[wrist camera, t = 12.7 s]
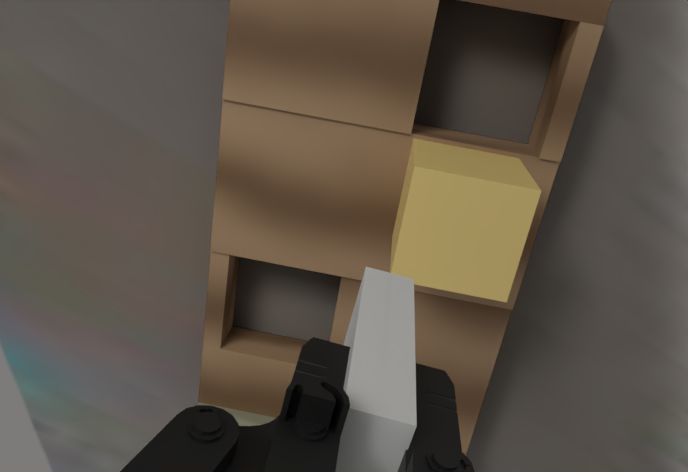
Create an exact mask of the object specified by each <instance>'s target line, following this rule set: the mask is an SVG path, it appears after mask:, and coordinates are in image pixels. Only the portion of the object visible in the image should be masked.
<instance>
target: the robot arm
mask: <svg viewBox="0 0 688 472" xmlns="http://www.w3.org/2000/svg"><path fill="white" fill-rule="evenodd" d="M455 400H456V396H455V388H454V384H453V382H452V381H451V379H450V378H449V376H448V375H447V373H446V372H445V371H444V370H440V369H436V368H433V367H429V366H425V365H421V364H418V363H416V361H415V308H414V279H411V278H408V277H404V276H400V275H396V274H393V273H389V272H385V271H381V270H377V269H374V268H370V267H366V268H365V271H364V275H363V278H362V282H361V285H360V289H359V292H358V296H357V299H356V303H355V306H354V310H353V313H352V317H351V320H350V323H349V327H348V330H347V334H346V337H345V341H344V345H341V344H337V343H333V342H329V341H326V340H322V339H318V338H314V337H313V338H312V339H310V340H309V341H308V342H307V343H305V344H304V345H303V346H302V348H301V352H300V355H299V358H298V362H297V365H296V368H295V372H294V375H293V378H292V381H291V383H290V384H289V386H288V387H287V389H286V393H285V397H284V401H283V405H282V409H281V413H280V415H279V416H278V417H277V418H276V419H274V420H272V421H271V422H269V423H266V424H262V425H256V426H239V424H238V422H237V421H236V419H235V418H234V416H233V415H232V414H230V413H229V412H227V411H226V410H224V409H221V408H218V407H215V406H211V405H198V406H194V407H190V408H186V409H185V410H183V411H182V412H180V413H179V414H177V415H176V416H175V417H174V418H173V419H172V420H171V421H170V422H169V423H168V424H167V425H166V426H165V427H164V428H163V429H162V430H161V431H160V432H159V433H158V434H157V435H156V436H155V437H154V438H153V439H152V440H151V441H150V442H149V443H148V444H147V445H146V446H145V447H144V448H143V449H142V450H141V451H140V452H139V453H138V454H137V455H136V456H135V457H134V458H133V459H132V460H131V461H130V462H129V463H128V464H127V465H126V466H125V467H124V468H123V469H122V470H121V471H120V472H475V471H474V469H473V466H472V463H471V462H470V460H469V459H468V458H467V457H466V456H465V454H464V453H462V448H461V439H460V430H459V422H458V413H457V405H456V401H455Z"/></svg>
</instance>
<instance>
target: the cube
mask: <svg viewBox="0 0 688 472" xmlns="http://www.w3.org/2000/svg"><path fill="white" fill-rule="evenodd" d="M540 194H541V189H540V188H539V186H538V185H537V183H536V182H535V180H534V179H533V178H532V176H531V175H530V173H529V172H528V170H527V169H526V167H525V166H524V165H523V163H522V162H521V160H520V159H519V158H515V157H509V156H504V155H499V154H494V153H488V152H483V151H478V150H472V149H467V148H462V147H456V146H451V145H446V144H441V143H435V142H430V141H425V140H419V139H414V138H413V142H412V147H411V152H410V156H409V161H408V166H407V170H406V175H405V180H404V184H403V189H402V193H401V198H400V203H399V207H398V212H397V217H396V221H395V226H394V230H393V235H392V249H391V264H390V273H393V274H396V275H400V276H404V277H408V278H411V279H414V284H415V285H420V286H425V287H430V288H435V289H441V290H446V291H451V292H456V293H461V294H466V295H471V296H476V297H481V298H486V299H492V300H497V301H502V302H507V300H508V296H509V293H510V290H511V287H512V284H513V280H514V277H515V274H516V271H517V268H518V264H519V261H520V258H521V255H522V252H523V248H524V245H525V242H526V239H527V236H528V233H529V229H530V226H531V223H532V220H533V217H534V213H535V210H536V207H537V204H538V201H539V197H540Z"/></svg>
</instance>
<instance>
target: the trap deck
mask: <svg viewBox="0 0 688 472" xmlns="http://www.w3.org/2000/svg"><path fill="white" fill-rule="evenodd" d="M458 1H463V2H469V3H474V4H480V5H486V6H491V7H497V8H502V9H508V10H514V11H519V12H525V13H530V14H536V15H541V16H547V17H553V18H558V19H564V22H563V26H562V29H561V33H560V36H559V39H558V43H557V46H556V50H555V53H554V56H553V60H552V63H551V67H550V70H549V74H548V77H547V80H546V84H545V87H544V91H543V94H542V98H541V101H540V104H539V108H538V111H537V115H536V118H535V122H534V125H533V128H532V132H531V135H530V139H529V142H528V144H524V143H518V142H513V141H507V140H502V139H497V138H491V137H486V136H480V135H475V134H470V133H464V132H459V131H454V130H448V129H443V128H437V127H432V126H427V125H421V124H416V123H414V118H415V113H416V109H417V104H418V99H419V94H420V90H421V85H422V80H423V76H424V71H425V66H426V61H427V57H428V52H429V47H430V43H431V38H432V33H433V28H434V24H435V19H436V14H437V9H438V5H439V0H230V10H229V22H228V34H227V46H226V58H225V70H224V82H223V94H222V99H223V104H222V116H221V128H220V140H219V152H218V164H217V176H216V188H215V200H214V211H213V223H212V235H211V247H210V251H211V257H210V268H209V280H208V292H207V304H206V316H205V327H204V339H203V351H202V363H201V375H200V387H199V398H198V403H197V405H196V406H198V405H211V406H215V407H218V408H221V409H224V410H226V411H227V412H229V413H230V414H232V415H233V416H234V418H235V419H236V421H237V422H238V424H239V426H256V425H262V424H266V423H269V422H271V421H272V420H274V419H276V418H277V417H278V416H279V415H280V413H281V409H282V405H283V401H284V397H285V393H286V389H287V387H288V386H289V384H290V383H291V381H292V378H293V375H294V372H295V368H296V365H297V362H298V358H299V355H300V352H301V348H302V346H303V345H304V344H305V343H307V342H308V341H305V340H300V339H294V338H289V337H284V336H279V335H274V334H269V333H264V332H259V331H254V330H249V329H244V328H239V327H234V326H233V316H234V307H235V297H236V288H237V278H238V269H239V259H240V257H243V258H248V259H253V260H258V261H264V262H269V263H274V264H279V265H284V266H289V267H294V268H300V269H305V270H310V271H315V272H320V273H325V274H330V275H335V276H341V282H340V287H339V293H338V298H337V304H336V309H335V315H334V320H333V326H332V331H331V337H330V342H333V343H337V344H341V345H344V341H345V337H346V334H347V330H348V327H349V323H350V320H351V317H352V313H353V310H354V306H355V303H356V299H357V296H358V292H359V289H360V285H361V282H362V278H363V275H364V271H365V268H366V267H370V268H374V269H377V270H381V271H385V272H389V273H390V264H391V249H392V235H393V230H394V226H395V221H396V217H397V212H398V207H399V203H400V198H401V193H402V189H403V184H404V180H405V175H406V170H407V166H408V161H409V156H410V152H411V147H412V142H413V138H414V139H419V140H425V141H430V142H435V143H441V144H446V145H451V146H456V147H462V148H467V149H472V150H478V151H483V152H488V153H494V154H499V155H504V156H509V157H515V158H519V159H520V160H521V162H522V163H523V165H524V166H525V167H526V169H527V170H528V172H529V173H530V175H531V176H532V178H533V179H534V180H535V182H536V183H537V185H538V186H539V188H540V189H541V194H540V197H539V201H538V204H537V207H536V210H535V213H534V217H533V220H532V223H531V226H530V229H529V233H528V236H527V239H526V242H525V245H524V248H523V252H522V255H521V258H520V261H519V264H518V268H517V271H516V274H515V277H514V280H513V284H512V287H511V290H510V293H509V296H508V300H507V302H502V301H497V300H492V299H486V298H481V297H476V296H471V295H466V294H461V293H456V292H451V291H446V290H441V289H435V288H430V287H425V286H420V285H415V284H414V308H415V361H416V363H418V364H421V365H425V366H429V367H433V368H436V369H440V370H444V371H445V372H446V373H447V375H448V376H449V378H450V379H451V381H452V382H453V384H454V388H455V396H456V400H455V401H456V405H457V413H458V422H459V430H460V439H461V448H462V453H464V454H465V456H466V453H467V450H468V447H469V444H470V441H471V438H472V434H473V431H474V428H475V425H476V422H477V419H478V415H479V412H480V409H481V406H482V403H483V400H484V397H485V393H486V390H487V387H488V384H489V381H490V378H491V374H492V371H493V368H494V365H495V362H496V359H497V355H498V352H499V349H500V346H501V343H502V340H503V337H504V333H505V330H506V327H507V324H508V321H509V318H510V314H511V311H512V310H513V308H514V305H515V302H516V298H517V295H518V292H519V289H520V286H521V283H522V279H523V276H524V273H525V270H526V267H527V264H528V261H529V257H530V254H531V251H532V248H533V245H534V242H535V238H536V235H537V232H538V229H539V226H540V223H541V220H542V216H543V213H544V210H545V207H546V204H547V201H548V198H549V194H550V191H551V188H552V185H553V182H554V179H555V175H556V172H557V169H558V166H559V163H560V162H561V160H562V157H563V154H564V150H565V147H566V144H567V141H568V138H569V135H570V132H571V128H572V125H573V122H574V119H575V116H576V113H577V109H578V106H579V103H580V100H581V97H582V94H583V91H584V87H585V84H586V81H587V78H588V75H589V72H590V69H591V65H592V62H593V59H594V56H595V53H596V50H597V47H598V43H599V40H600V37H601V34H602V31H603V28H604V25H605V21H606V18H607V15H608V12H609V9H610V6H611V3H612V1H610V0H458Z"/></svg>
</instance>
